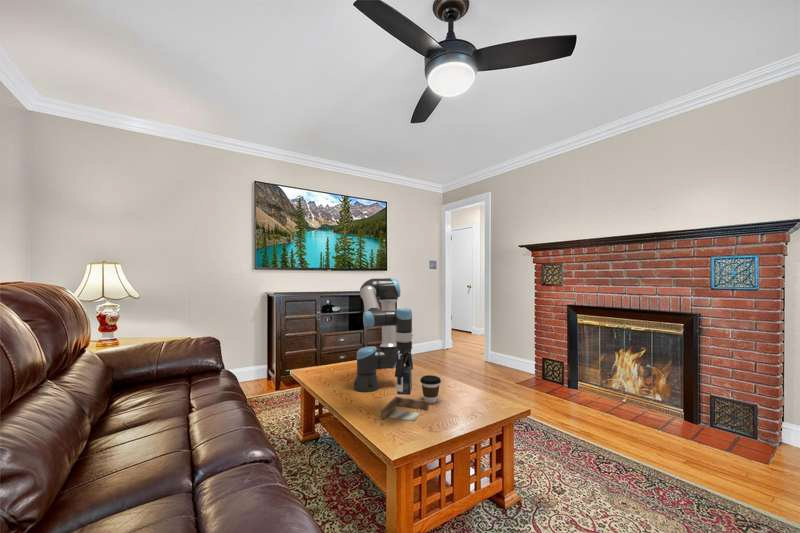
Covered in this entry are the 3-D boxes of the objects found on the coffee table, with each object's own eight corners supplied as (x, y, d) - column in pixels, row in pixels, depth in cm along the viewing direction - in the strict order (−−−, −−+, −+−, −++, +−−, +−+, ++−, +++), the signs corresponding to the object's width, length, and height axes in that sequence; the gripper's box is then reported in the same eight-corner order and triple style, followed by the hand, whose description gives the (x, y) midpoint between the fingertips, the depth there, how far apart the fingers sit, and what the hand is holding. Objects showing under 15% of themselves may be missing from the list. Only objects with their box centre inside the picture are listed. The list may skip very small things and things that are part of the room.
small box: (398, 386, 162) (398, 365, 162) (412, 387, 161) (412, 365, 162) (396, 394, 152) (396, 371, 152) (410, 395, 151) (410, 371, 151)
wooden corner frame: (381, 419, 152) (381, 410, 152) (395, 404, 170) (395, 396, 170) (417, 425, 146) (417, 415, 146) (428, 409, 164) (428, 400, 164)
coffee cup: (416, 399, 177) (416, 376, 177) (434, 396, 181) (434, 374, 181) (426, 406, 167) (426, 382, 167) (445, 403, 171) (444, 379, 171)
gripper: (403, 346, 145) (403, 396, 144) (419, 337, 167) (419, 380, 166) (387, 345, 147) (387, 394, 147) (405, 336, 170) (405, 378, 169)
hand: (404, 387), depth 157 cm, fingers closed on small box, 11 cm apart
